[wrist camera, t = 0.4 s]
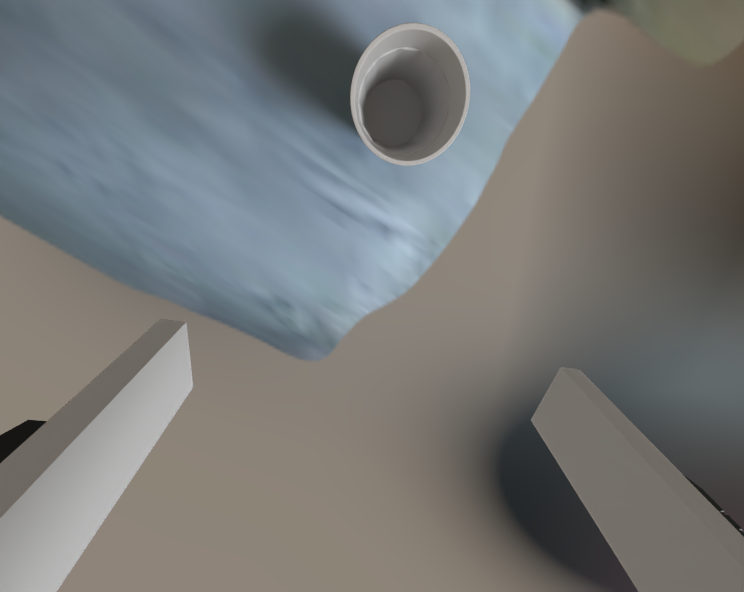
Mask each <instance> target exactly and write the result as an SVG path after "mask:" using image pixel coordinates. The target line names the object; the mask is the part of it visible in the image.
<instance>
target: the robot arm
mask: <svg viewBox="0 0 744 592" xmlns="http://www.w3.org/2000/svg"><path fill="white" fill-rule="evenodd" d="M192 388H193V382H192V372H191V363H190V354H189V344H188V334H187V325H186V322H182V321H173V320H165V319H160V320H159V321H158V322H157V323H156V324H154V325H153V326H152V327H151V328H150V329H149V330H148V331H147V332H146V333H145V334H144V335H142V336H141V337H140V338H139V339H138V340H137V341H136V342H135V343H133V344H132V345H131V346H130V347H129V348H128V349H127V350H126V351H125V352H124V353H122V354H121V355H120V356H119V357H118V358H117V359H116V360H115V361H114V362H113V363H111V364H110V365H109V366H108V367H107V368H106V369H105V370H103V371H102V372H101V373H100V374H99V375H98V376H97V377H96V378H95V379H93V380H92V381H91V382H90V383H89V384H88V385H87V386H86V387H85V388H83V389H82V390H81V391H80V392H79V393H78V394H77V395H76V396H75V397H74V398H72V399H71V400H70V401H69V402H68V403H67V404H66V405H65V406H64V407H62V408H61V409H60V410H59V411H58V412H57V413H56V414H55V415H54V416H52V417H51V418H50V419H49V420H48V421H35V420H27V421H26V422H24V423H22V424H20V425H18V426H16V427H15V428H13V429H11V430H9V431H7V432H5V433H4V434H2V435H0V592H57V590H58V589H59V587H60V586H61V584H62V583H63V581H64V579H65V578H66V577H67V575H68V574H69V572H70V571H71V569H72V568H73V566H74V565H75V563H76V562H77V560H78V559H79V557H80V556H81V554H82V553H83V551H84V550H85V548H86V547H87V545H88V544H89V542H90V541H91V539H92V538H93V536H94V535H95V533H96V532H97V530H98V529H99V527H100V526H101V524H102V523H103V521H104V520H105V518H106V517H107V515H108V514H109V512H110V511H111V509H112V508H113V506H114V505H115V503H116V502H117V500H118V499H119V497H120V496H121V494H122V493H123V491H124V490H125V488H126V487H127V485H128V484H129V482H130V481H131V479H132V477H133V476H134V474H135V473H136V472H137V470H138V469H139V467H140V466H141V464H142V463H143V461H144V460H145V458H146V457H147V455H148V454H149V452H150V451H151V449H152V448H153V446H154V445H155V443H156V442H157V440H158V439H159V437H160V436H161V434H162V433H163V431H164V430H165V428H166V427H167V425H168V424H169V422H170V421H171V419H172V418H173V416H174V415H175V413H176V412H177V410H178V409H179V407H180V406H181V404H182V403H183V401H184V400H185V398H186V397H187V395H188V394H189V392H190V391H191V389H192ZM531 421H532V423H533V424H534V426H535V427H536V429H537V431H538V432H539V434H540V435H541V437H542V439H543V440H544V442H545V443H546V445H547V447H548V448H549V450H550V451H551V453H552V454H553V456H554V458H555V459H556V461H557V462H558V464H559V466H560V467H561V469H562V470H563V472H564V474H565V475H566V477H567V478H568V480H569V481H570V483H571V485H572V486H573V488H574V490H575V491H576V493H577V494H578V496H579V497H580V499H581V501H582V502H583V504H584V505H585V507H586V508H587V510H588V512H589V513H590V515H591V517H592V518H593V520H594V521H595V523H596V524H597V526H598V528H599V529H600V531H601V532H602V534H603V536H604V537H605V539H606V540H607V542H608V544H609V545H610V546H611V548H612V550H613V552H614V553H615V555H616V556H617V558H618V560H619V561H620V563H621V564H622V566H623V567H624V569H625V571H626V572H627V574H628V575H629V577H630V579H631V580H632V582H633V583H634V585H635V587H636V588H637V590H638V591H639V592H744V533H743V532H742V529H741V528H740V527H739V526H738V525H737V524H736V522H735V521H733V520H732V519H731V518H730V516H728V515H725V514H724V510H723V509H721V508H720V506H718V504H717V503H716V502H715V501H714V500H713V499H711V497H709V495H708V494H706V492H705V491H703V489H701V488H700V487H699V486H697V485H696V484H695V483H693V482H692V481H691V480H689V479H688V478H687V477H686V476H684V475H683V474H682V473H681V472H679V470H678V469H676V467H675V466H674V465H673V464H672V463H671V462H670V461H669V460H668V459H667V458H666V457H665V456H664V455H663V454H662V453H661V452H660V451H659V450H658V449H657V448H656V447H655V446H654V445H653V444H652V443H651V442H650V441H649V440H648V439H647V438H646V437H645V436H644V435H643V434H642V433H641V432H640V431H639V430H638V429H637V428H636V427H635V426H634V425H633V424H632V423H631V422H630V421H629V420H628V418H626V416H625V415H624V414H623V413H622V412H621V411H620V410H619V409H618V408H617V407H616V406H615V405H614V404H613V403H612V402H611V401H610V400H609V399H608V398H607V397H606V396H605V395H604V394H603V393H602V392H601V391H600V390H599V389H598V388H597V387H596V386H595V385H594V384H593V383H592V382H591V381H590V380H589V379H588V378H587V377H586V376H585V375H584V374H583V373H582V372H581V371H580V370H579V369H571V368H563V367H561V368H560V370H559V371H558V373H557V375H556V377H555V378H554V380H553V382H552V384H551V385H550V387H549V389H548V391H547V392H546V394H545V396H544V398H543V399H542V401H541V403H540V405H539V406H538V408H537V410H536V412H535V414H534V415H533V417H532V419H531Z"/></svg>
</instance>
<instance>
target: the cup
mask: <svg viewBox="0 0 744 592" xmlns="http://www.w3.org/2000/svg"><path fill="white" fill-rule="evenodd" d="M469 100H470V81H469V75H468V70H467V67H466V64H465V61H464V59H463V56H462V54H461V53H460V51H459V49H458V48H457V46H456V45H455V44H454V42H453V41H452V40H451V39H450V38H449V37H448V36H447V35H445V34H444V33H443V32H441V31H440V30H438V29H436V28H434V27H432V26H429V25H426V24H421V23H405V24H400V25H397V26H394V27H392V28H389V29H388V30H386V31H384V32H383V33H381V34H380V35H379V36H377V37H376V38H375V39H374V40H373V41H372V42H371V43H370V44H369V45H368V47H367V48H366V49H365V51H364V52H363V54H362V55H361V57H360V59H359V61H358V63H357V65H356V68H355V71H354V74H353V78H352V83H351V90H350V106H351V113H352V117H353V121H354V124H355V127H356V129H357V132H358V134H359V135H360V137H361V139H362V140H363V142H364V143H365V145H366V146H367V147H368V148H369V149H370V150H371V151H372V152H373V153H374V154H376V155H377V156H378V157H380V158H381V159H383V160H385V161H387V162H390V163H393V164H397V165H406V166H407V165H417V164H421V163H424V162H427V161H429V160H431V159H433V158H435V157H436V156H438V155H439V154H441V153H442V152H443V151H444V150H445V149H447V148H448V147H449V145H450V144H451V143H452V142H453V141H454V139H455V138H456V136H457V135H458V133H459V131H460V130H461V128H462V126H463V123H464V121H465V118H466V115H467V111H468V107H469Z"/></svg>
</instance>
